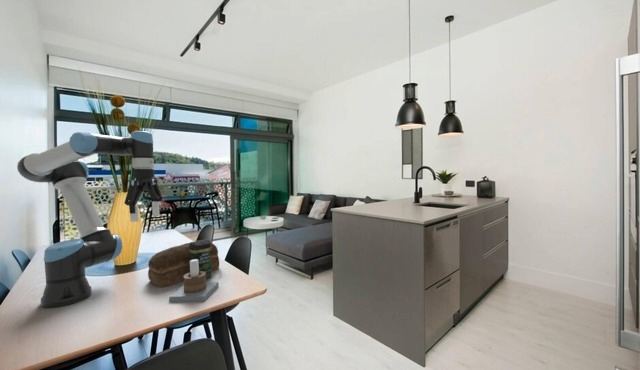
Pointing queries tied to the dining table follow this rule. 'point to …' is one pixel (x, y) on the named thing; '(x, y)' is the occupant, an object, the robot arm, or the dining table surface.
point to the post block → (198, 296)
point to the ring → (194, 282)
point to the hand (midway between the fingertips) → (145, 218)
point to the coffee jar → (202, 255)
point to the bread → (175, 264)
